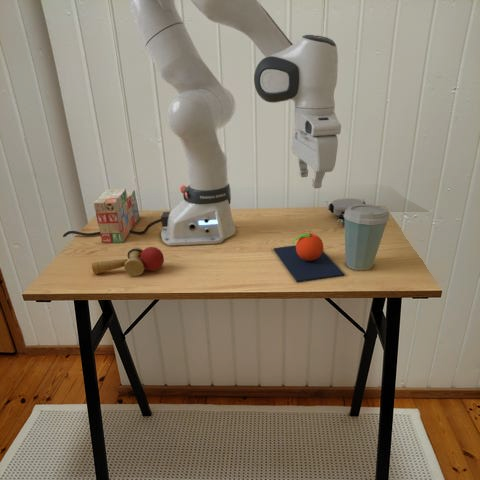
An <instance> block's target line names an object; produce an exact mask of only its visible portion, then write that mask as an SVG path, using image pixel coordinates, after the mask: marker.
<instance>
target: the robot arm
mask: <svg viewBox="0 0 480 480" xmlns="http://www.w3.org/2000/svg"><path fill="white" fill-rule="evenodd" d="M190 1H191V2H192V4H193V5H194V6H195V7H196V9H197V10H198V11H199V12H201V14H202V15H203V16H205V18H207V19H208V20H209V21H211V22H213V23H215V24H220V25H222V26H226V27H229V28H232V29H234V30H235V31H236V30H237V31H239V32H241V33H242V34H244V35H245V36H246V37H248V38H249V39H250V41H252V43H253V44H254V45H255V46H256V48H257V49H258V50H259V51H260V52H261V54H262V55H263V56H264V57H263V58H262V59H261V60H260V61H259V62H258V64H257V65H256V67H255V71H254V75H253V83H254V89H255V91H256V93H257V95H258V96H259V97H260V98H261V99H262V100H263V101H265V102H267V103H272V104H280V103H282V102H288V101H293V102H294V111H293V113H294V114H293V129H292V137H291V138H292V139H291V152H292V155H294V156H296V157H297V163H298V168H299V169H298V172H299V173H298V174H299V176H300V177H301V178H307V177H309V169H308V166H309V167H310V168H311V169H313V173H314V176H313V178H312V181H311V183H312V184H311V186H312V188H314V189H321V188H322V185H323V184H322V183H323V180H324V177H325V175H326V173H331V172H333V171H334V169H335V166H336V161H337V154H338V146H339V139H338V136H337V135H341V131H342V124H341V122H340V121H339V119H338V118H337V115H336V112H335V107H336V102H335V101H336V100H335V90H336V88H337V84H338V72H339V71H338V68H339V67H338V66H339V63H338V62H339V58H338V57H339V55H338V47H337V44H336V42H335V41H334V40H333V39H331V38H329V37H326V36H322V35H314V34H304V35H302V36H301V37H300V38H298V40H297V41H295V43H292V41H290V39H289V38H288V37H287V35H286V34H285V32H284V31H283V30H282V29H281V27H279V25H278V24H277V23H276V21H275V20H274V19H273V18H272V17H271V15H270V14H269V13H268V11H267V10H266V9H265V8H264V7H263V6H262V4H261V3H260V2H259V0H190ZM129 5H130V6H129V7H130V12H131V15H132V18H133V21H134V23H135V27H136V29H137V31H138V35H139V36H140V38H141V41H142V43H143V45H144V47H145V49H146V50H147V52H148V55H149V56H150V58H151V60H152V62H153V64H154V65H155V68H156V69H157V72H158V74H159V75H160V77H161V78H162V80H163V81H165V82H166V83H167V84H169V85H170V86H172V87H173V88H174V89H175V91H176V92H177V93H178V94H179V95H177V96H176V97H175V98H174V99H173V100H172V101H170V103H169V105H168V107H167V109H166V120H167V124H168V127H169V129H170V130H171V132H173V134H175V135H176V137H177V138H178V140H179V141H180V144H181V146H182V149H183V152H184V156H185V159H186V167H187V172H188V173H187V175H188V186H186V185H184V184H182V185H180V188H179V190H180V192H181V194H182V197H183V200H182V201H181V202H179V204H177V206H175V207H174V208H173V209H172V210H170V211H163V212H162V214H161V216H160V218H159V219H157V220H154V221H152V222H151V223H149V224H148V225H146V227H145V228H144V230H141V231H136V230H132V229H131V230H130V232H129V234H134V235H144V234H146V233H147V232H148V231H149V229H150V228H151V227H152V226H154V225H156V224H159V223H161V227H162V229H161V231H160V238H161V241H162V243H164V244H165V245H167V246H169V247H171V246H189V245H190V246H195V245H214V244H221V243H222V242H224V241H225V240H226V239H228V238H230V237H232V236H233V235H235V234H236V232H237V228H236V225H235V223H234V219H233V214H232V209H231V200H232V194H231V186H230V183H229V173H228V158H227V155H226V152H224V151H223V149H222V147H221V143H220V140H219V137H218V131H219V130H220V129H223V128H224V127H225V126H227V124H229V122H230V121H231V120H232V119H233V117H234V115H235V113H236V109H237V108H236V100H235V97H234V95H233V94H232V93H231V91H230V90H229V89H227V88H226V87H224V85H222V84H221V82H220V81H219V80H218V78H217V77H216V76H215V74H214V73H213V72H212V71H211V69H210V68H209V66H208V65H207V64H206V62H205V61H204V60H203V58H202V57H201V54H200V53H199V51H198V49H197V48H196V45H195V43H194V42H193V39H192V38H191V36H190V33H189V31H188V30H187V27H186V26H185V23H184V21H183V19H182V18H181V16H180V14H179V11H178V10H177V7H176V3H175V0H130V4H129ZM70 234H72V235H73V234H75V235H79V236H85V237H91V236H93V237H94V236H99V235H100V231H96V232H82V231H77V230H68V231H67V232H65V233H64V234H63V235H62V238H65V237H67V236H68V235H70Z"/></svg>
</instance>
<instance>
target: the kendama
mask: <svg viewBox="0 0 480 480" xmlns="http://www.w3.org/2000/svg"><path fill="white" fill-rule="evenodd" d="M164 262H165V257H164V254H163V251H161V249H159V248H158V247H156V246H148V247H146V248H144V249H142V248H141V247H138V246H133V247H131V248H130V249H129V250H128V252H127V259H126V258H123V259H113V260H105V261H104V260H103V261H95V262H92V263H91V269H92V273H93V274H94V275H98V274H101V273H105V272H108V271H113V270H116V269H121V268H123V267H124V268H123V269H124V271H125V273H126V274H127V275H129V276H132V277H137V276H140V275H142V274H143V273H144V270H147V271H150V272H151V271H152V272H153V271H157V270H159V269H161V267H163V264H164Z"/></svg>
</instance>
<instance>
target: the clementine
mask: <svg viewBox="0 0 480 480" xmlns="http://www.w3.org/2000/svg"><path fill="white" fill-rule="evenodd" d="M296 241H297V242H296ZM295 242H296V251H297V254H298V255H299V257H300V258H302V259H303V260H305V261H313V260H316V259H317V258H319V257H320V256H321V254H322V252H324V243H323V240H322V238H321V237H320V236H318V235H317V234H315V233H312V232H311V233H310V232H309V233H305V234H301V235H299V236H297V237H296V238H295V239H294V240H293V243H292V245H291V246H294V243H295Z"/></svg>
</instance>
